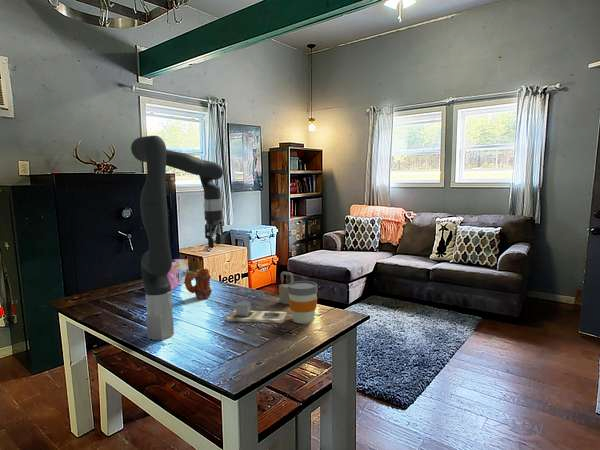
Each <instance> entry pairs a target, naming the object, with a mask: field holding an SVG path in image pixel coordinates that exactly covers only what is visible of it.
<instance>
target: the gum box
mask: <svg viewBox="0 0 600 450" xmlns="http://www.w3.org/2000/svg"><path fill="white" fill-rule="evenodd" d="M189 271H190V270H189V260H188V258H185V259H183V258H182V259H181V258H180V257H179V258H174V259H172V267H171V269H170V271H169V272H168V273H167V278H168V281H169V282H170V284H171V289H173V288H174V287H176V286H178V285H180V284H182V283H183V282H185V276H186V274H187V273H188V272H189ZM173 290H174V289H173Z"/></svg>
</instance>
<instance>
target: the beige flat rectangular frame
mask: <svg viewBox="0 0 600 450" xmlns="http://www.w3.org/2000/svg"><path fill="white" fill-rule="evenodd" d="M287 316H288V312H287V311H270V310H269V311H268V310H251V316H250V317H249V318H241V317H236V309H235V310H233V311H232V312H231V313H230V314H229V315H228V316H227V317H226V320H225V321H226V322H240V323H242V322H244V323H245V322H246V323H247V322H248V323H269V324H272V323H273V324H283V323H284V322H285V319H286V317H287Z"/></svg>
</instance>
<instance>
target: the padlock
mask: <svg viewBox="0 0 600 450" xmlns="http://www.w3.org/2000/svg"><path fill="white" fill-rule="evenodd" d="M284 275H285V276H289V277H290V283H292V282H295V281H294V274H293V273H292V272H289V271H282V272H281V273H280V281H281V284H279V285H278V294H279V295H278V296H279V302H280V303H281V304H285V305H289V299H288V298H289V293H288V284H285V283H284V280H285V278H284V277H285V276H284Z"/></svg>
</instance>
